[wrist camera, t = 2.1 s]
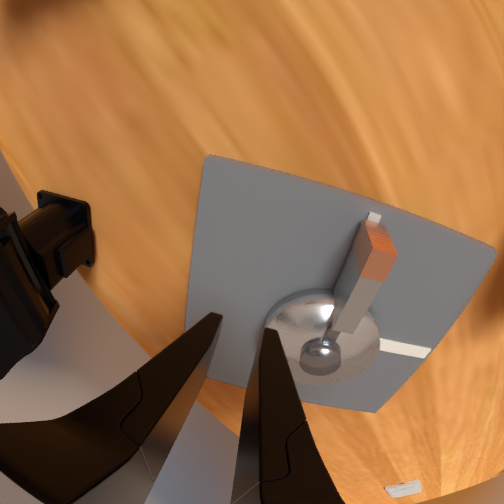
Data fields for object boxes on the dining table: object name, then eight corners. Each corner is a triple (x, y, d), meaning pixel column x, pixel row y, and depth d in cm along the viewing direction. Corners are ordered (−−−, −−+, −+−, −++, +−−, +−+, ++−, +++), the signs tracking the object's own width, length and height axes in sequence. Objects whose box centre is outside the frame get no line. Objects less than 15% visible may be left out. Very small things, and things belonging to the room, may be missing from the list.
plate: (185, 362, 31) (181, 370, 30) (209, 154, 19) (203, 158, 18) (374, 405, 30) (375, 414, 29) (492, 246, 18) (499, 254, 17)
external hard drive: (392, 493, 53) (384, 484, 48) (422, 486, 49) (419, 476, 45) (392, 498, 51) (384, 490, 47) (422, 491, 48) (419, 482, 43)
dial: (349, 374, 25) (349, 409, 22) (254, 353, 26) (245, 388, 23) (431, 240, 18) (451, 273, 14) (304, 199, 18) (303, 227, 15)
